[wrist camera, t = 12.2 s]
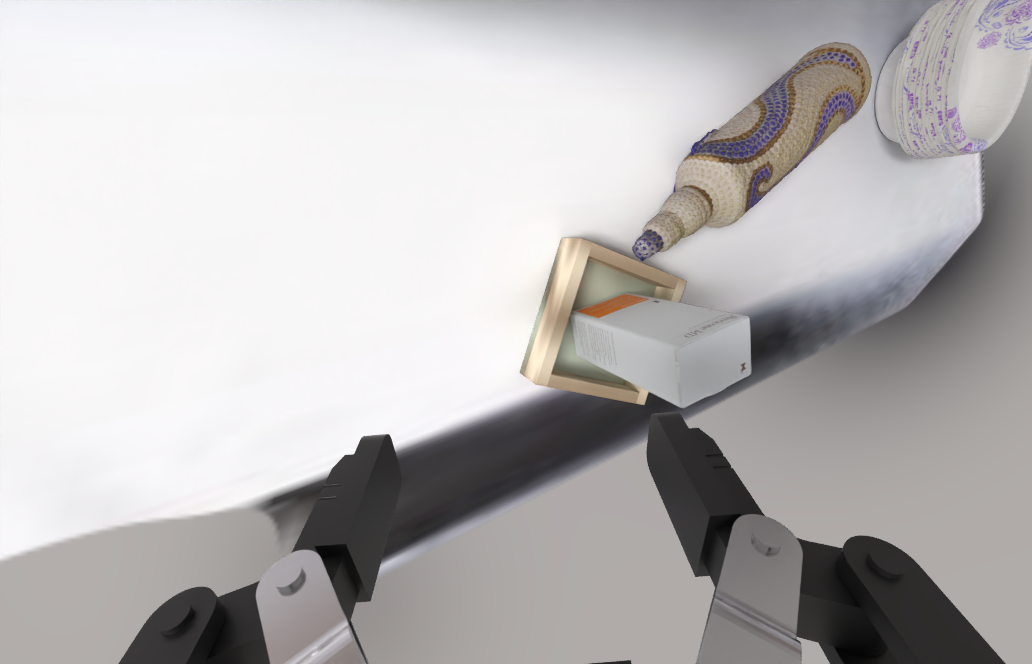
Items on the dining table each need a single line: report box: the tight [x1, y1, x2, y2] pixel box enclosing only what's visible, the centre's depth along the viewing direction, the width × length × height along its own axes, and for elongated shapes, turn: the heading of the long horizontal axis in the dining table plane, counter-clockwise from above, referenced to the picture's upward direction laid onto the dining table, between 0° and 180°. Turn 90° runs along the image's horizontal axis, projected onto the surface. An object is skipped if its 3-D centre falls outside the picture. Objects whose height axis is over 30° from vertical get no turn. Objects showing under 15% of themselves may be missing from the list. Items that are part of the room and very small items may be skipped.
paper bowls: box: [875, 0, 1032, 159], centre depth 42 cm, size 15×15×8 cm
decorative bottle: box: [632, 42, 872, 261], centre depth 34 cm, size 26×8×7 cm, turn 125°
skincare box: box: [570, 292, 751, 408], centre depth 29 cm, size 6×4×12 cm
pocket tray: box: [520, 238, 687, 405], centre depth 34 cm, size 12×12×3 cm
